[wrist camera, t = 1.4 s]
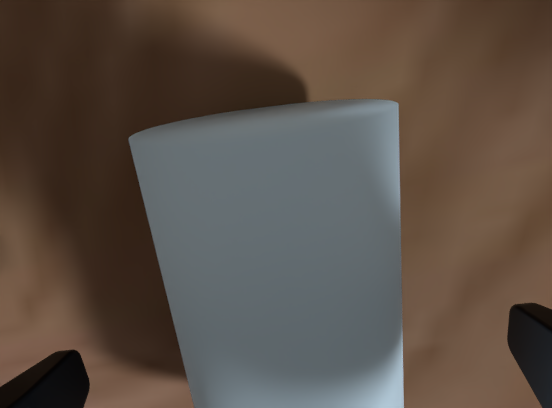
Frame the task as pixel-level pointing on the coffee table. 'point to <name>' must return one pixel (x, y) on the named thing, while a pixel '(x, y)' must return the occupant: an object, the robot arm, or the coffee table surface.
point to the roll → (281, 252)
